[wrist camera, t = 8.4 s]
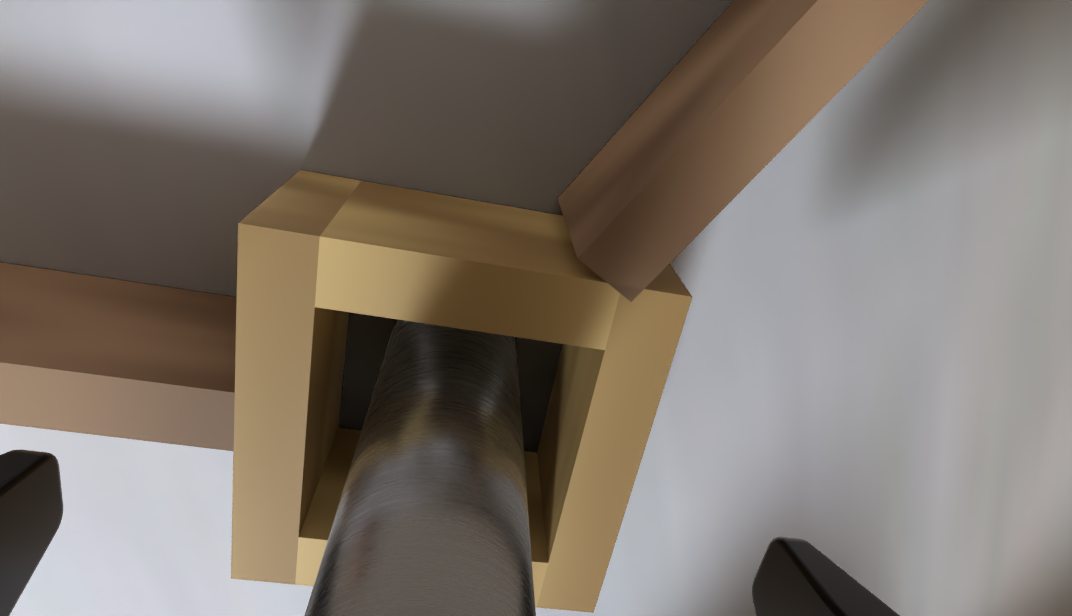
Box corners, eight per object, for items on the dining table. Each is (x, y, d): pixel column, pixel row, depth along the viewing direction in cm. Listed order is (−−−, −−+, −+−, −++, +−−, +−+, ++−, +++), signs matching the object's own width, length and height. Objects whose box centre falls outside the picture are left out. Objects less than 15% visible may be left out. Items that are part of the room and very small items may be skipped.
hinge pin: (359, 411, 13) (154, 1045, 5) (375, 259, 12) (136, 785, 4) (520, 432, 14) (562, 1048, 6) (552, 288, 12) (665, 813, 4)
